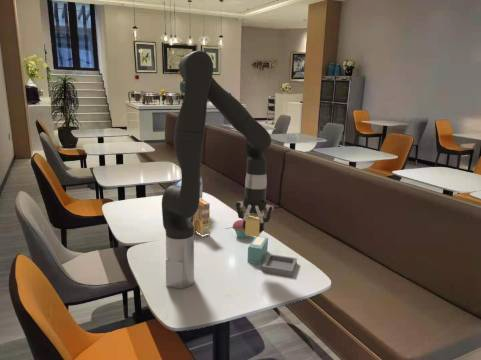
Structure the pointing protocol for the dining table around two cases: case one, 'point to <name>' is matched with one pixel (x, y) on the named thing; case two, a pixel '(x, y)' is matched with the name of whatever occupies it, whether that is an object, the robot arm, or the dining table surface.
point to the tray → (279, 265)
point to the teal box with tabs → (257, 249)
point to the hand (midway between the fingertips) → (253, 230)
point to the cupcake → (239, 228)
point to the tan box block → (252, 226)
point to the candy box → (202, 218)
